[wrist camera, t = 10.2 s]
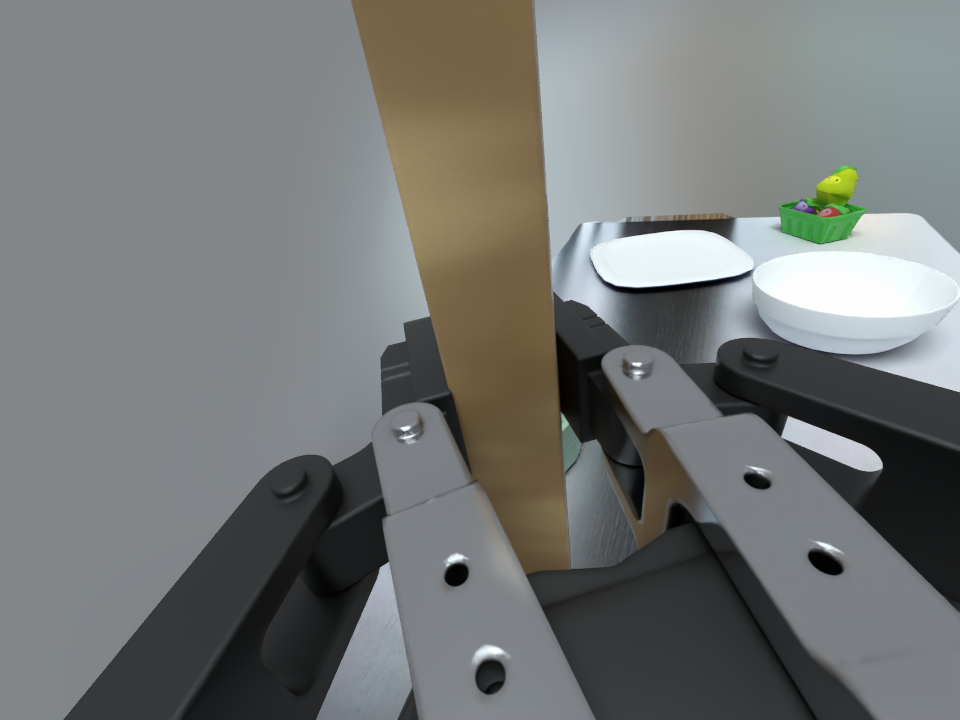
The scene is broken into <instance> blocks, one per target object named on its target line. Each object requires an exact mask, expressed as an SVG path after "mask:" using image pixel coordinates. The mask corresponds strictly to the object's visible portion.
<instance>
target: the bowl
mask: <svg viewBox="0 0 960 720" xmlns="http://www.w3.org/2000/svg"><path fill="white" fill-rule="evenodd" d="M752 288H753V300H754V303H755V305H756V306H757V307H758V312H759V314H760V316H761V318H762V319H763V320H764V322H765V323H766V324H767V325H768V327H769V328H770V329H771V330H772V331H773V332H774V333H776V334H777V335H779V336H780V337H782V338H784V339H786V340H788V341H790V342H792V343H795V344H798V345H800V346H804V347H807V348H811V349H815V350H820V351H825V352H831V353H840V354H872V353H878V352H884V351H887V350H890V349H893V348H895V347H898V346H901V345H903V344H906V343H909V342H911V341H912V340H914V339H916V338H917V337H919V336H920V335H921V334H922V333H923V332H926V331H928V330H930V329H932V328H933V327H935V326H937V325H938V324H939V323H940V321H941V320H942V319H943V318H944V317H945V316H946V315H947V313H948V312H949V311H950V310H951V309H952V308H953V306H954V305H955V304H956V303H957V301H958V300H959V298H960V287H959V286H958V285H957V283H956V282H955V281H954V280H953V279H951V278H950V277H949V276H947V275H946V274H944V273H942V272H940V271H938V270H936V269H934V268H931V267H928V266H925V265H922V264H919V263H916V262H912V261H908V260H905V259H901V258H895V257H890V256H885V255H877V254H869V253H859V252H842V251H823V252H807V253H797V254H792V255H786V256H782V257H778V258H775V259H772V260H769V261H767V262H765V263H763V264H762V265H760V266H759V267H757V269H756V270H755V272H754V273H753V278H752Z"/></svg>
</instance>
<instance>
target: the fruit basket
mask: <svg viewBox="0 0 960 720" xmlns="http://www.w3.org/2000/svg"><path fill="white" fill-rule="evenodd" d="M855 170H856V168H855V167H852V168H851V167H849V166H842V167H840V168H839V169H837V170H836V171H835V172H834V173H833V174H832V175H831V176H830V177H828V178H826V179H824V180H823V181H821V182H820V183H819V184H818V185H817V186H816V193H817V198H807V199H801V200H800V201H795V202H790V203H785V204H781V205H779V206H778V207H779V211H780V216H781V227H782V232H784V233H787V234H791V235H794V236H797V237H801V238H803V239H806V240H810V241H813V242H816V243H819V244H823V243H825V242H831V241H836V240H839V239H845V238H847V237H848V235H849V234H850V232H851V231H852V229H853V228H854V226H855V225H856V223H857V222H858V220H859V219H860V217H861V216H862V215H863V214H864V213H865V212H866V210H867V209H866V208H862V207H858V206H854V205H849V204H846V203H847V202H848V200H849V199H850V198H851V197H852V195H853V193H854V189H855V184H856V182H857V180H858V175H857V173H856V171H855Z"/></svg>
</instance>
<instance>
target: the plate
mask: <svg viewBox="0 0 960 720" xmlns="http://www.w3.org/2000/svg"><path fill="white" fill-rule="evenodd" d="M590 253H591V260H592V262H593V265H594V267H595V269H596V271H597V273H598V274H599V275H600V277H601V278H602V279H603V280H604V281H605V282H607V283H610V284H612V285H614V286H617V287H624V288H636V289H640V288H656V287H667V286H676V285H685V284H693V283H701V282H708V281H715V280H721V279H726V278H732V277H737V276H739V275H742V274H744V273H747V272H749V271H752V270H753V266H754V262H755V261H754V260H753V259H752V258H751V257H750V256H749V255H748V254H747V253H746V252H744V251H743V250H742V249H740V248H739V247H738V246H736V245H735V244H733V243H732V242H730V241H729V240H727V239H726V238H724V237H722V236H720V235H718V234H716V233H711V232H707V231H702V230H681V231H670V232H661V233H654V234H646V235H639V236H632V237H626V238H620V239H615V240H610V241H606V242H604V243H601V244H598V245H596V246H595V247H594V248H593V249H592V250H591V251H590Z"/></svg>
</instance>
